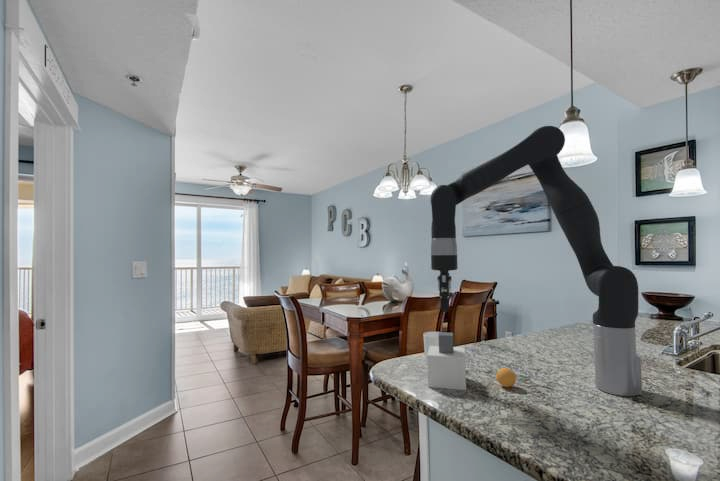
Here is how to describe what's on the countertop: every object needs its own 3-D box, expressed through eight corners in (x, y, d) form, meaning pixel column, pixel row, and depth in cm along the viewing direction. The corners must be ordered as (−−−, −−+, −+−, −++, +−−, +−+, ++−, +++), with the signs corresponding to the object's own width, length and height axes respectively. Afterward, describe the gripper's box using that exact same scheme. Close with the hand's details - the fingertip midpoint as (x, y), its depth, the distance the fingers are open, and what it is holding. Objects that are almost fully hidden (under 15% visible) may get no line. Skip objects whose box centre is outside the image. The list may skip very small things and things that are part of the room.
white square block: (464, 377, 103) (463, 330, 104) (466, 390, 93) (464, 339, 94) (430, 374, 106) (429, 329, 106) (428, 387, 96) (426, 337, 97)
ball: (514, 384, 97) (513, 366, 97) (517, 390, 92) (517, 372, 93) (495, 382, 98) (495, 364, 99) (497, 389, 94) (497, 370, 94)
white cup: (448, 368, 111) (447, 337, 112) (423, 367, 113) (423, 336, 113) (447, 360, 119) (446, 331, 120) (424, 359, 121) (423, 331, 121)
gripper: (457, 253, 93) (458, 313, 93) (456, 253, 107) (458, 306, 106) (429, 254, 95) (430, 312, 95) (432, 254, 109) (433, 305, 108)
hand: (445, 309), depth 101 cm, fingers open, 8 cm apart
